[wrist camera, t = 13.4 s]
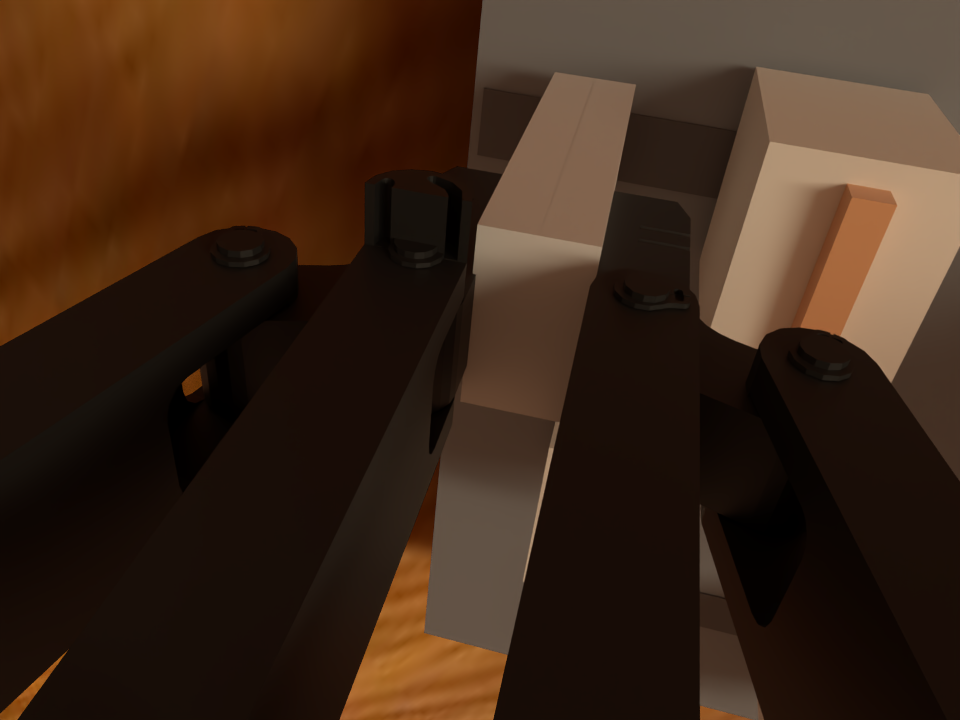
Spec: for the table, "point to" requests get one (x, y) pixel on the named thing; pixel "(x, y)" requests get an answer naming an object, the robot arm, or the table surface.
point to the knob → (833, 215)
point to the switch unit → (695, 186)
